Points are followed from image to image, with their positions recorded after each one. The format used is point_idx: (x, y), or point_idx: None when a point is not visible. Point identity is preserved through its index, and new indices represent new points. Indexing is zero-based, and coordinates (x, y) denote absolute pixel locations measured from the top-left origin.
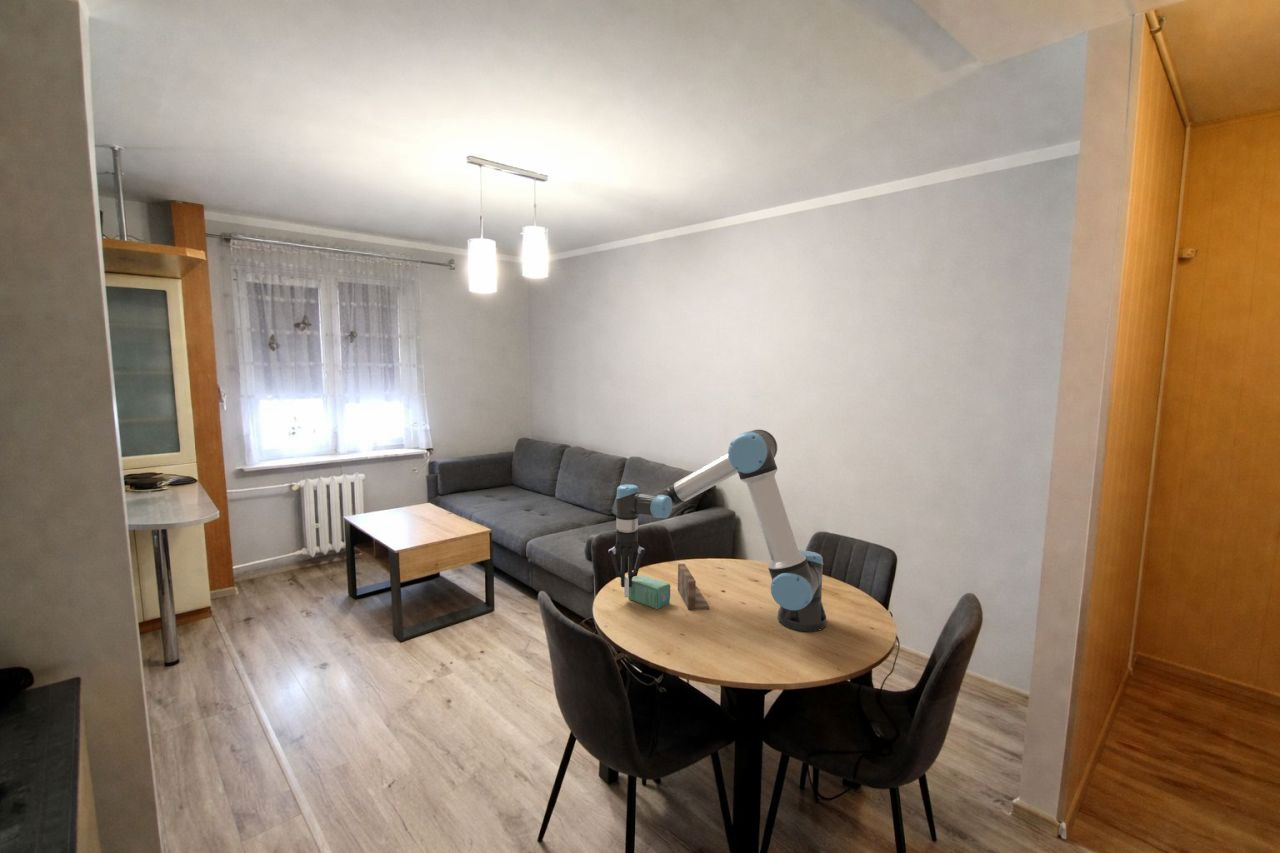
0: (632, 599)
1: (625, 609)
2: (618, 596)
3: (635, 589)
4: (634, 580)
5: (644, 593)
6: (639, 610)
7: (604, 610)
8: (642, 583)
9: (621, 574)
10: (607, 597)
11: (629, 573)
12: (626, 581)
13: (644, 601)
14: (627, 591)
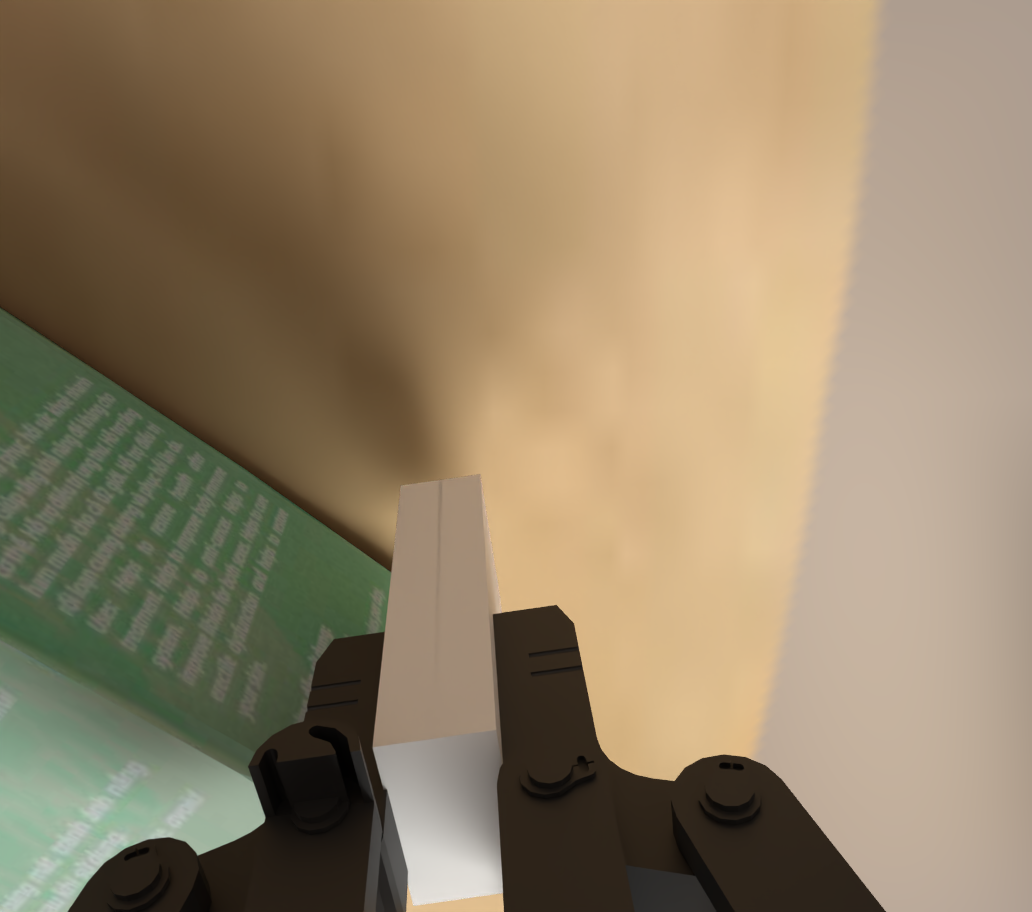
0: (344, 542)
1: (449, 193)
2: None
3: (251, 624)
4: (251, 814)
5: (23, 472)
6: (174, 151)
7: (837, 139)
8: (3, 668)
9: (619, 837)
10: (745, 640)
11: (340, 901)
12: (444, 685)
13: (85, 394)
14: (421, 542)
